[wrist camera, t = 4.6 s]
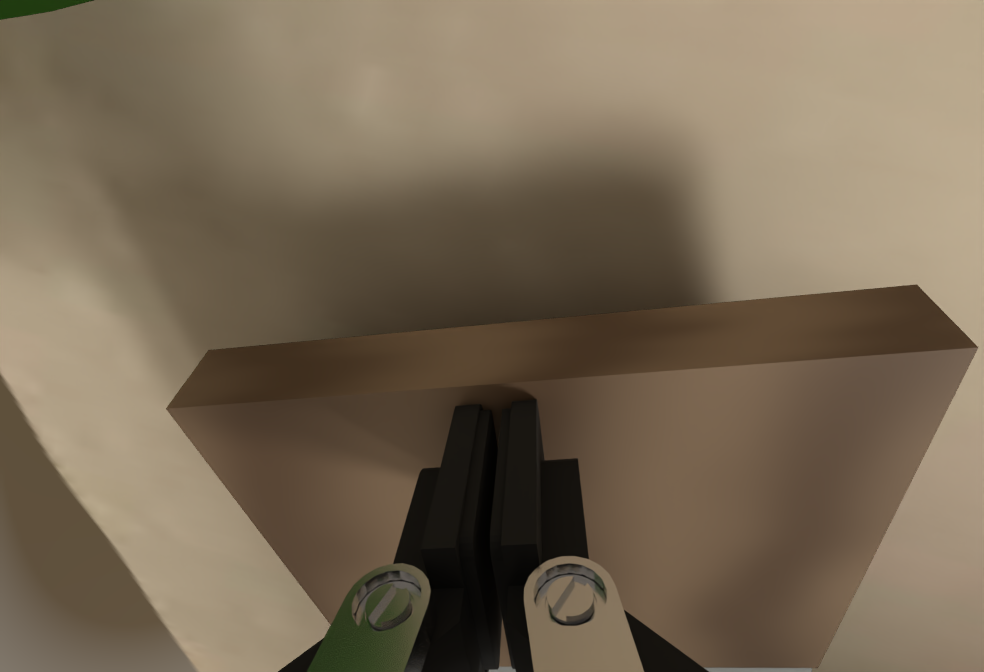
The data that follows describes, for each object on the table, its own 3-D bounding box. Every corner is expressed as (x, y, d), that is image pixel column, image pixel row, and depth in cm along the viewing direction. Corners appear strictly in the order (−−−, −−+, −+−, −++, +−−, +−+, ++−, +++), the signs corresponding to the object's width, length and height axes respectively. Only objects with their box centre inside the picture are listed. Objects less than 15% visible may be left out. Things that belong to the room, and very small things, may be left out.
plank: (916, 284, 11) (978, 347, 10) (795, 607, 20) (817, 667, 18) (208, 350, 14) (166, 408, 12) (374, 611, 22) (362, 665, 21)
